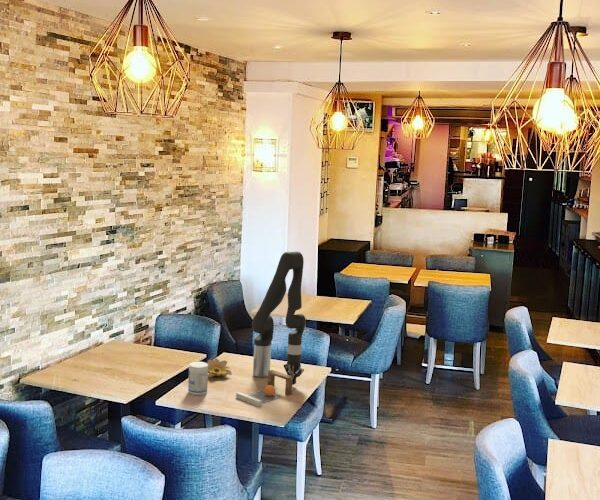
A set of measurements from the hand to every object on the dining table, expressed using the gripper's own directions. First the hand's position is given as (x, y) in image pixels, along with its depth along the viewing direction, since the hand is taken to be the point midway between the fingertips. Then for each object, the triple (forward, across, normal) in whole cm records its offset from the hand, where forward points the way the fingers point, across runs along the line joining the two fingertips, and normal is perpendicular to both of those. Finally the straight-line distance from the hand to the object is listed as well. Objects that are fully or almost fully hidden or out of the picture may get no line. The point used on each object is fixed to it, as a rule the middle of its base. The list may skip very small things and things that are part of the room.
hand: (293, 384), depth 362 cm
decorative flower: (+2, +39, +19) cm, 43 cm away
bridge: (+2, 0, +10) cm, 10 cm away
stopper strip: (+2, 0, +32) cm, 32 cm away
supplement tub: (+2, +26, +42) cm, 50 cm away
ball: (-1, -1, +19) cm, 19 cm away
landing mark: (+2, 0, +23) cm, 23 cm away
